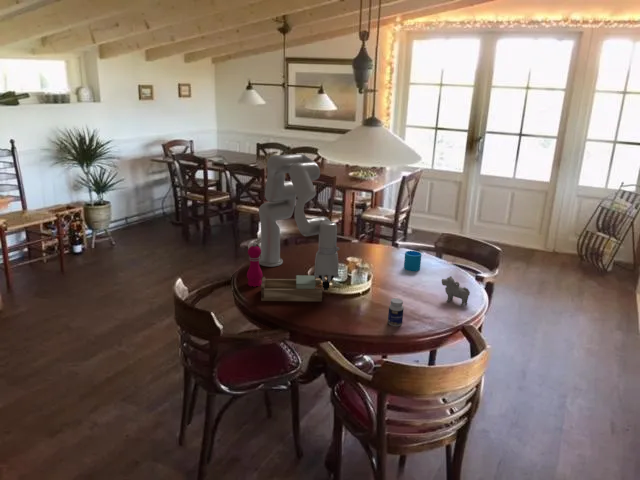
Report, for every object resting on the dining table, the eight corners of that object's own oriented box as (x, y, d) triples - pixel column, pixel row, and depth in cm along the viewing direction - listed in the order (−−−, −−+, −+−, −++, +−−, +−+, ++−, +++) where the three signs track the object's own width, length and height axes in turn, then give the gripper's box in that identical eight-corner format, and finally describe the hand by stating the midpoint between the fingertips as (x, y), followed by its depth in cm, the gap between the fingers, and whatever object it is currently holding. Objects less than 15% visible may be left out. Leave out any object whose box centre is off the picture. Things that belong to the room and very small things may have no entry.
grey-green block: (296, 288, 235) (296, 275, 233) (314, 288, 236) (314, 275, 234) (296, 296, 227) (296, 283, 225) (315, 296, 227) (315, 283, 225)
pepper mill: (259, 288, 238) (259, 246, 231) (244, 286, 239) (244, 244, 233) (264, 282, 244) (264, 241, 238) (249, 280, 246) (249, 239, 240)
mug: (420, 272, 263) (422, 256, 260) (404, 271, 263) (405, 255, 261) (418, 263, 274) (420, 248, 272) (402, 262, 275) (404, 247, 272)
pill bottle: (390, 327, 206) (392, 304, 203) (385, 320, 211) (387, 297, 208) (404, 326, 207) (406, 303, 204) (399, 319, 212) (401, 297, 209)
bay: (262, 289, 236) (262, 276, 234) (320, 290, 238) (321, 277, 236) (261, 300, 225) (261, 287, 223) (321, 301, 226) (322, 288, 224)
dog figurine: (442, 295, 236) (444, 273, 233) (470, 303, 229) (472, 280, 226) (437, 299, 232) (439, 276, 229) (465, 307, 225) (468, 284, 222)
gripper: (343, 247, 229) (342, 286, 235) (309, 246, 229) (308, 285, 234) (345, 253, 222) (343, 292, 228) (310, 252, 221) (309, 292, 227)
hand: (325, 289), depth 231 cm, fingers closed
